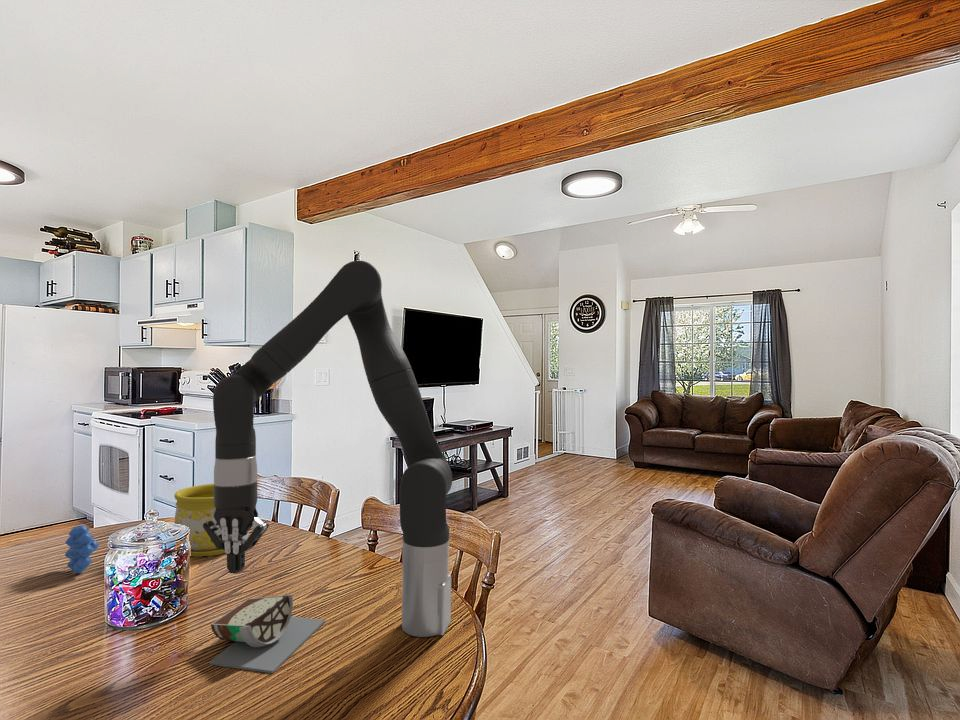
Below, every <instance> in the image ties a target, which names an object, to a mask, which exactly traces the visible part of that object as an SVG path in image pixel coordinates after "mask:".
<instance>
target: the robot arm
mask: <svg viewBox="0 0 960 720" xmlns="http://www.w3.org/2000/svg"><path fill="white" fill-rule="evenodd" d="M382 286H383V285H382V277H381V275H380V272H379V271H378V269H377V268H376V266H374V265H373V264H372V263H370V262H368V261H364V260H353V261H349V262H347V263H346V264H344V265H343V266H342V267H341V268H340V269H339V270H338V271H337V273H335V275H334V276H333V278H331V280H330V281H329V282H328V284H327V285H326V286H325V287H324V288H323V290H322V291H321V292H320V293H319V294H318V295H317V296H316V297H315V298H314V299H313V300H312V301H311V302H310V303H309V304H308V305H307V306H306V307H305V308H304V309H303V310H302V311H301V312H300V313H299V314H298V315H297V316H295V318H293V319H292V320H291V321H290V322H288V324H286V325H285V326H284V327H283V328H281V329H280V330H279V331H278V332H277V333H276V334H275V335H273V336H272V337H271V338H270V339H269V340H268V341H266V342H265V343H264V344H263V345H261V347H259V348H258V349H257V350H256V351H255V352H254V353H253V355H252V356H251V358H250V359H249V360H248V361H246V362H245V363H244V364H242V365H241V366H240V367H239V368H238V369H237V370H236V371H234V372H232V373H231V375H229V376H226V377H224V378H222V379H221V380H219V381H218V382H217V384H216V385H215V387H214V390H213V393H212V407H213V417H214V425H215V443H214V445H215V446H214V447H215V448H214V449H215V451H214V453H215V455H214V456H215V457H214V459H215V460H214V466H213V484H214V507H215V508H216V510H215V512H214V517H213V518H212V519H211V520H210V521H208V522H206V523H204V524H203V528H204V529H205V531H206V532H207V534H208V535H209V537H210V538H211V540H212V541H213V543H214V545H215V546H216V548H217V549H218V550H221V549H222V550H224V551H225V552H226V553H225V554H226V569H227V570H228V572H229V574H239V573H241V572H242V571H243V569H244V568H245V566H246V552H247V551H248V550H250V549H253V547H255V546H256V545H257V543H258V542H259V540H261V538H262V536H263V535H264V534H265V532H266V531H267V530H268V528H269V526H270V524H269V522H267V521H265V522H263V521H262V520H261V519H260V518H259V513H258V510H257V503H258V463H257V456H256V454H257V453H256V452H257V442H256V441H257V438H256V437H257V435H256V430H255V427H254V418H255V417H254V415H255V414H254V412H255V403H256V402H257V401H258V399H260V398H261V397H262V396H263V395H264V394H265V393H266V392H267V391H268V390H269V389H270V388H271V387H272V386H273V385H274V384H275V383H276V382H278V381H279V380H281V379H282V378H284V377H285V376H286V375H287V374H289V373H290V372H291V371H292V370H293V369H294V368H295V367H297V366H298V364H300V363H301V362H302V361H303V360H304V359H306V357H307V356H308V355H309V353H311V352H312V351H313V350H314V349H315V347H316V346H317V344H319V342H321V340H322V338H323V337H325V335H326V334H327V333H328V332H329V331H330V330H331V329H332V328H333V327H334V326H336V324H337V323H339V321H341V320H342V319H343V318H344V317H346V316H347V318H348V320H349V322H350V324H351V327H352V329H353V331H354V334H355V336H356V340H357V342H358V345H359V352H360V356H361V360H362V365H363V368H364V372H365V375H366V380H367V382H368V384H369V385H368V386H369V387H370V388H369V389H370V391H371V393H372V397H373V399H374V402H375V404H376V406H377V408H378V410H379V412H380V413H381V415H382V417H383V419H385V421H386V423H387V424H388V425H389V427H390V428H391V429H392V431H393V432H394V434H395V435H396V438H398V440H399V443H400V445H401V448H402V451H403V454H404V457H405V461H406V464H407V465H406V466H407V468H406V469H404V471H403V473H402V476H401V478H400V482H399V524H400V528H401V532H402V562H401V563H402V565H401V566H402V570H401V571H402V573H401V576H402V578H401V579H402V580H401V585H402V586H401V628H402V630H403V632H404V633H406V634H407V635H409V636H413V637H419V638H428V637H434V636H444V635H445V633H446V631H447V629H448V627H449V625H450V623H451V621H452V574H450V573H449V571H450V570H449V569H450V566H449V565H450V557H449V555H450V527H449V524H448V523H447V495H448V493H449V492H450V490H451V489H452V485H453V473H452V469H451V467H450V465H449V463H448V460H447V459H446V457H445V455H444V453H443V450H442V448H441V447H440V445H439V443H438V440H437V438H436V436H435V433H434V431H433V429H432V425H431V423H430V419H429V416H428V412H427V409H426V406H425V403H424V400H423V397H422V394H421V392H420V388H419V385H418V382H417V380H416V377H415V373H414V371H413V369H412V365H411V363H410V361H409V358H408V357H407V355H406V353H405V351H404V350H403V347H402V346H401V344H400V342H399V340H398V339H397V337H396V336H395V333H394V332H393V330H392V328H391V325H390V322H389V320H388V316H387V312H386V309H385V304H384V299H383V296H382V288H383V287H382ZM250 531H251V533H250ZM219 538H220V539H219ZM221 541H222V542H221Z"/></svg>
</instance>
